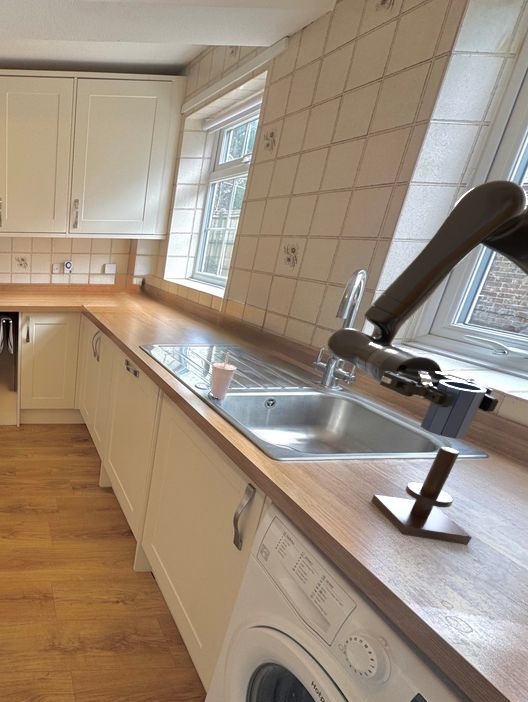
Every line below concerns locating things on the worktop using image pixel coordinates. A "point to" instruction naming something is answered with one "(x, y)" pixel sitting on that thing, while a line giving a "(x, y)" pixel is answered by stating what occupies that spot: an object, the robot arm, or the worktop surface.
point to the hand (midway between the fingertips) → (470, 403)
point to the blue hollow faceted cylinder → (454, 410)
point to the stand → (426, 504)
